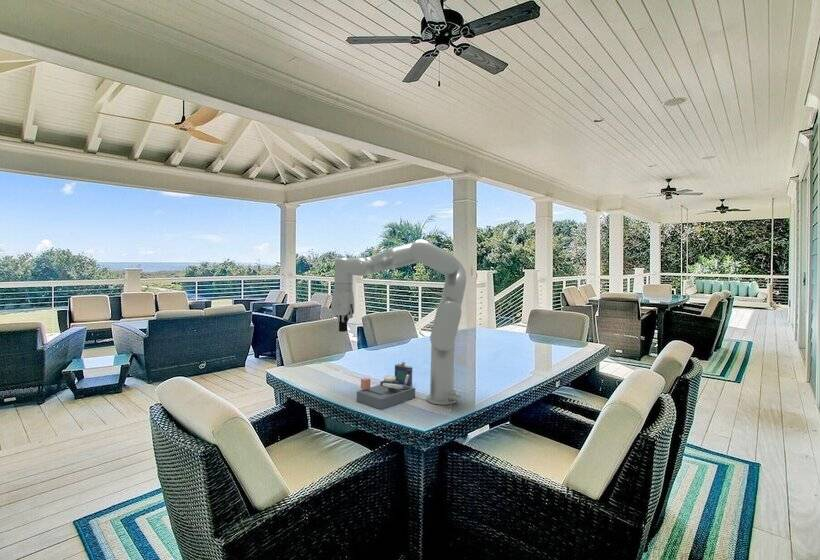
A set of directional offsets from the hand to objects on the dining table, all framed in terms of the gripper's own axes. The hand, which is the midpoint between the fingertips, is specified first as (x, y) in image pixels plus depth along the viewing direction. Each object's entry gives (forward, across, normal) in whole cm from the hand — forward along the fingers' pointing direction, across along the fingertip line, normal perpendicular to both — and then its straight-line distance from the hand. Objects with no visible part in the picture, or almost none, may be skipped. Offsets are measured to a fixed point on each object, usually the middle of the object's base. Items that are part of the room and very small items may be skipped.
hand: (343, 331), depth 175 cm
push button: (+23, +14, +15) cm, 30 cm away
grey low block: (+27, +17, +9) cm, 33 cm away
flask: (+27, +8, +29) cm, 41 cm away
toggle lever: (+22, +22, +15) cm, 34 cm away
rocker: (+21, +20, +9) cm, 30 cm away
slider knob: (+23, +11, +3) cm, 26 cm away
